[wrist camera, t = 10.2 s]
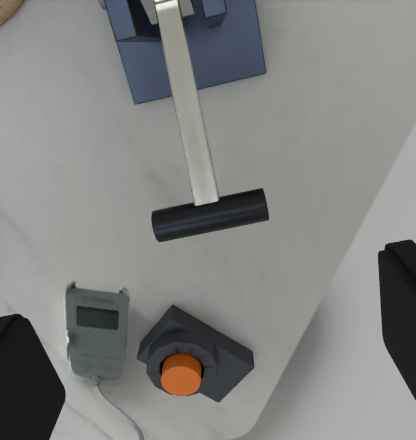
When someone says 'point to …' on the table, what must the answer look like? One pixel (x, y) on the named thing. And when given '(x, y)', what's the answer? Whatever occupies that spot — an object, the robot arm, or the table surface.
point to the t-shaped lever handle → (194, 141)
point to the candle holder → (8, 8)
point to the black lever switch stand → (198, 43)
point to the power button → (181, 374)
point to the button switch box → (196, 353)
